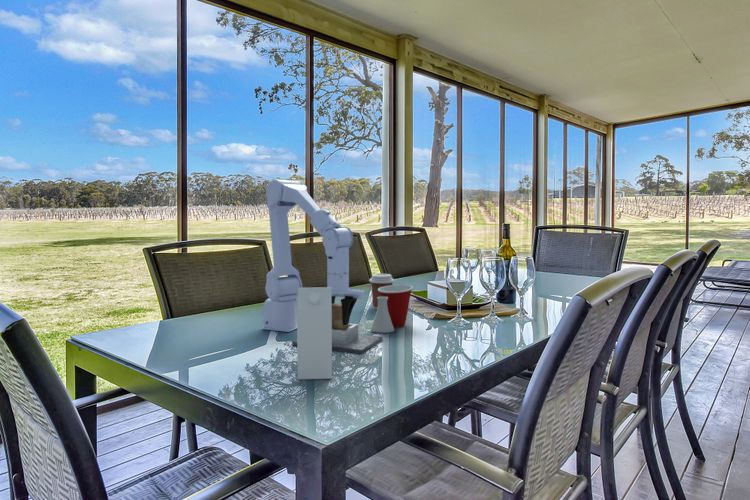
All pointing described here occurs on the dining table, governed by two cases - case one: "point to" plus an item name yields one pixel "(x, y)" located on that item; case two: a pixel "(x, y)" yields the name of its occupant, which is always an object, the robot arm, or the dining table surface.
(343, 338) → the post socket base
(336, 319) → the walnut rail post
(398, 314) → the plastic cup
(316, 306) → the milk carton
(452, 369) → the dining table surface
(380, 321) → the flask
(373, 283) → the coffee cup
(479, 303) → the dining table surface
